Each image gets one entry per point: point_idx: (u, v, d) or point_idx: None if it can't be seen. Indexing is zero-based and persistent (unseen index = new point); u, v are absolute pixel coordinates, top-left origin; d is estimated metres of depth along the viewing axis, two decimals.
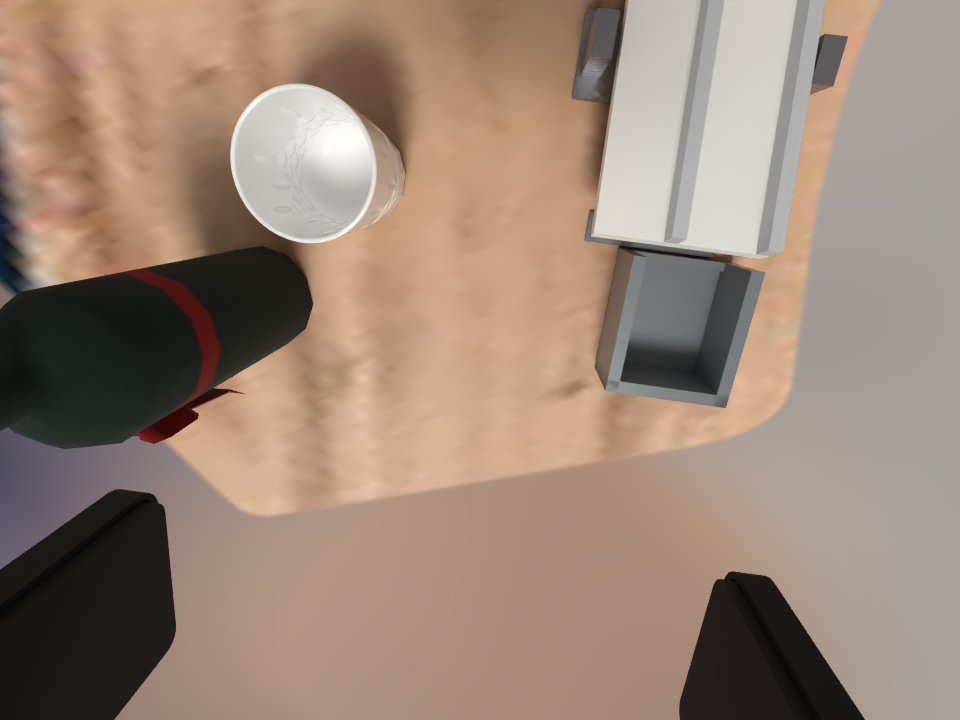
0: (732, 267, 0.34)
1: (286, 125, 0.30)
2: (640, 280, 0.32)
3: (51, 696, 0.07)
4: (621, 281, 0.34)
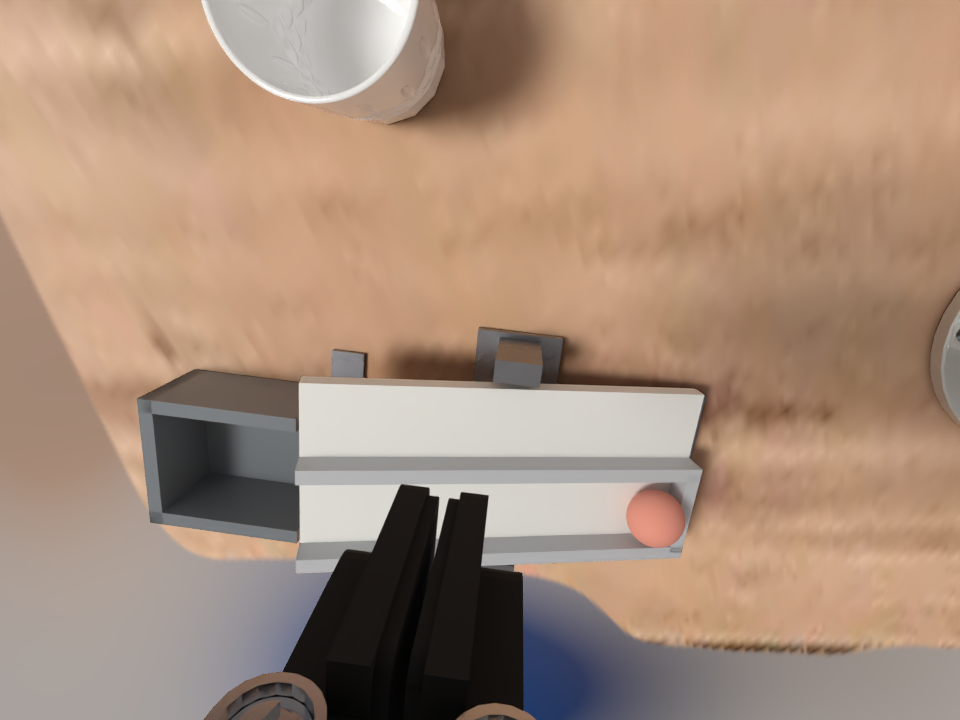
0: None
1: None
2: (270, 427, 0.28)
3: (408, 662, 0.08)
4: (278, 400, 0.30)
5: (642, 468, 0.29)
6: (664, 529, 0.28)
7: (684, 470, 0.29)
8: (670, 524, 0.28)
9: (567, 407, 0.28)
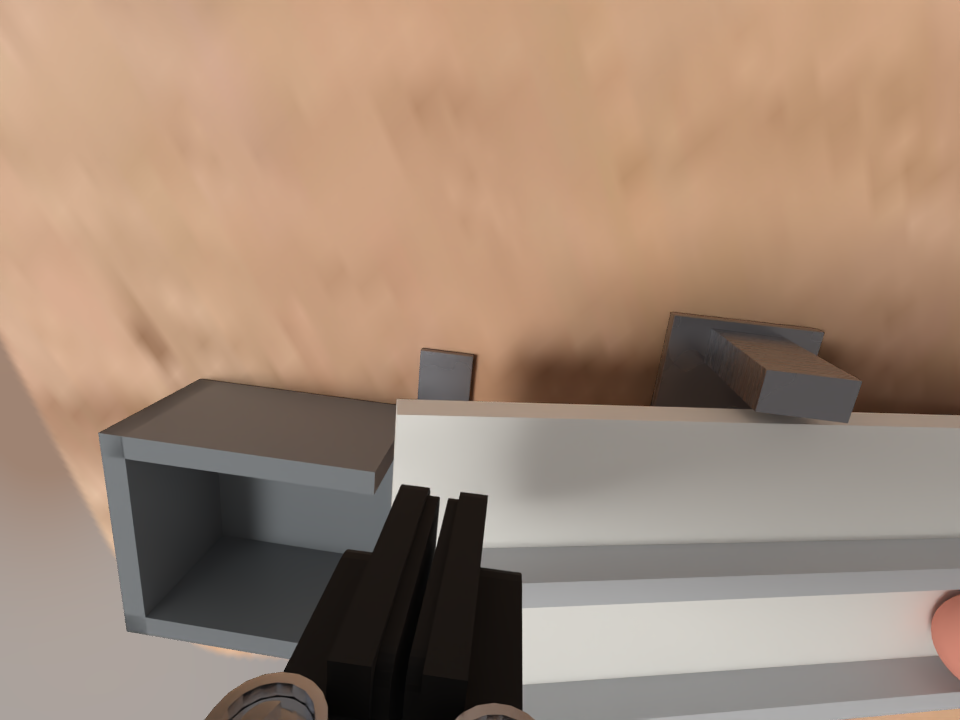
0: None
1: None
2: (328, 485, 0.16)
3: (409, 662, 0.08)
4: (338, 434, 0.18)
5: None
6: None
7: None
8: None
9: (865, 455, 0.15)
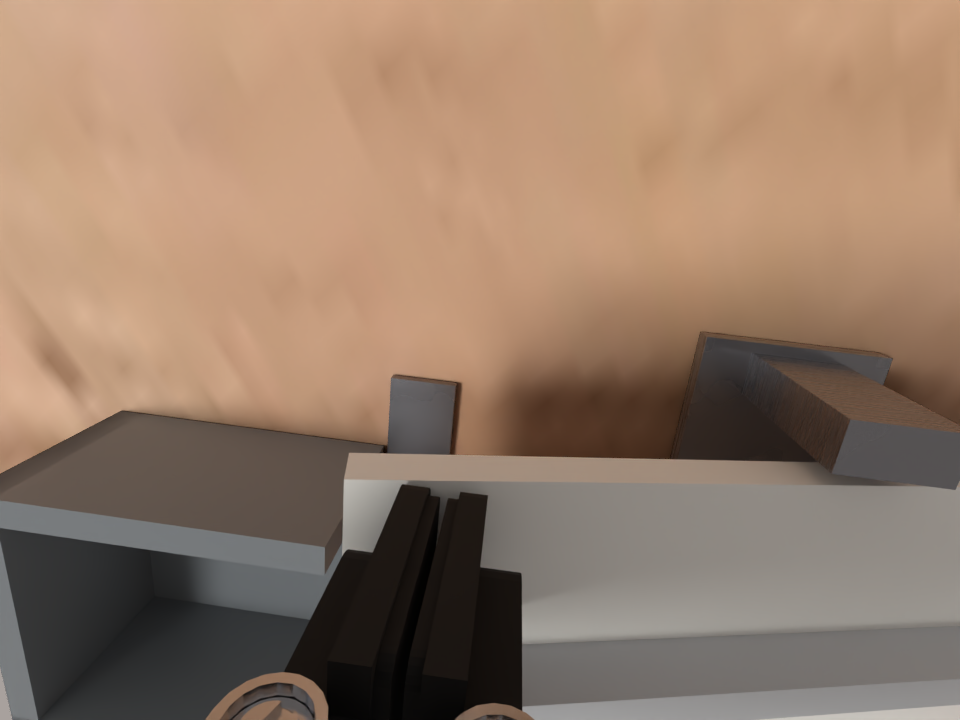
0: None
1: None
2: (264, 563, 0.12)
3: None
4: (283, 488, 0.14)
5: None
6: None
7: None
8: None
9: None
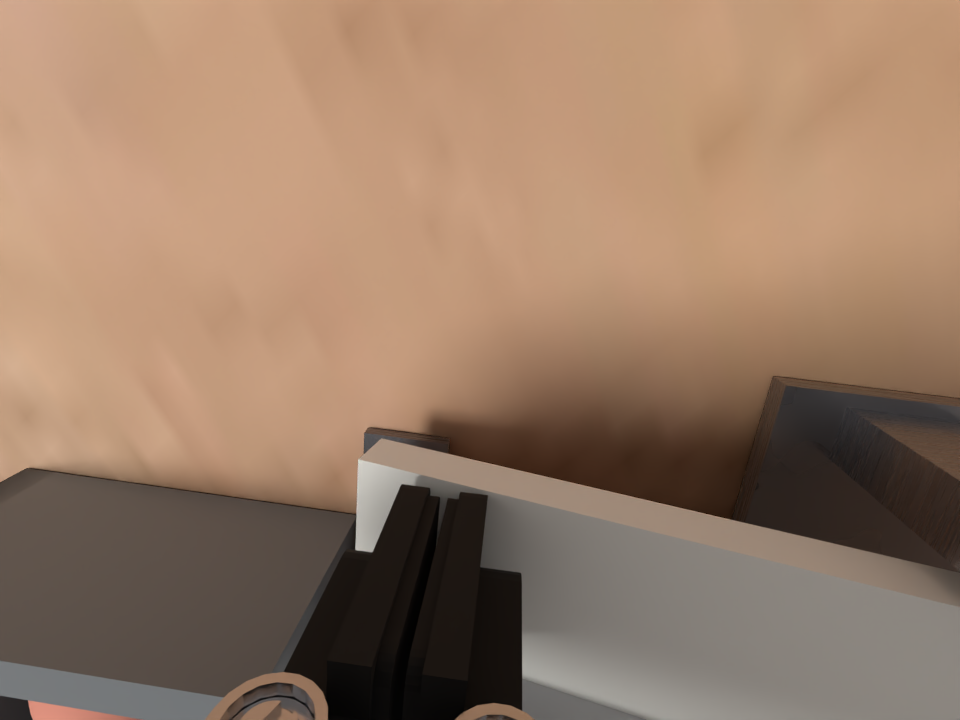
0: None
1: None
2: (172, 719, 0.09)
3: None
4: (213, 592, 0.10)
5: None
6: None
7: None
8: None
9: None
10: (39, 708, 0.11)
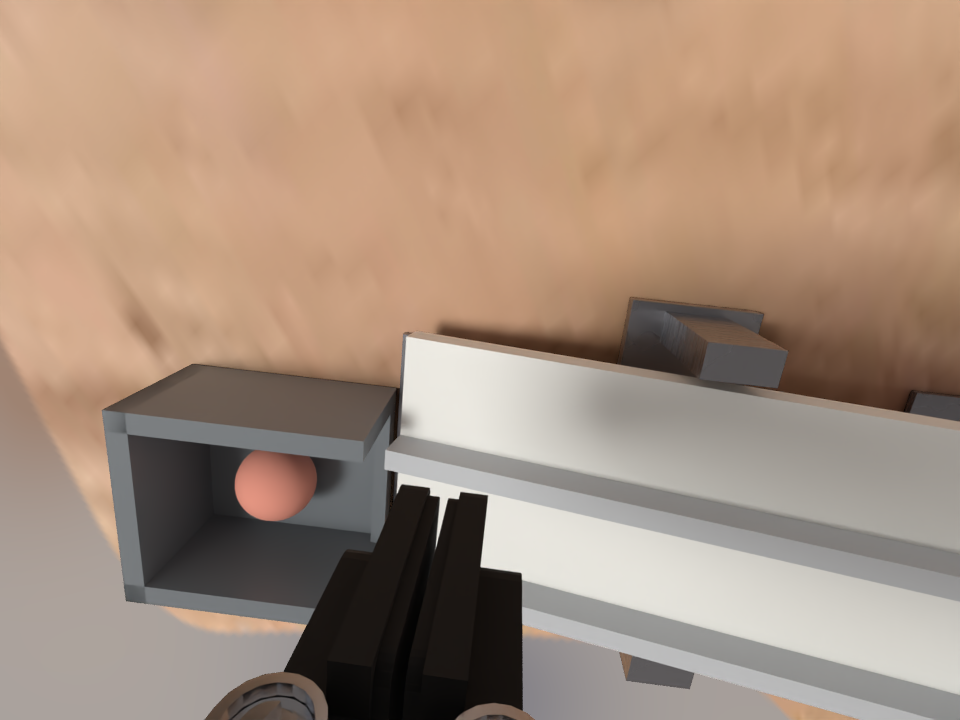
0: None
1: None
2: (320, 455, 0.18)
3: (409, 662, 0.08)
4: (327, 410, 0.19)
5: None
6: (314, 476, 0.22)
7: None
8: (313, 467, 0.22)
9: (812, 435, 0.16)
10: (236, 476, 0.21)
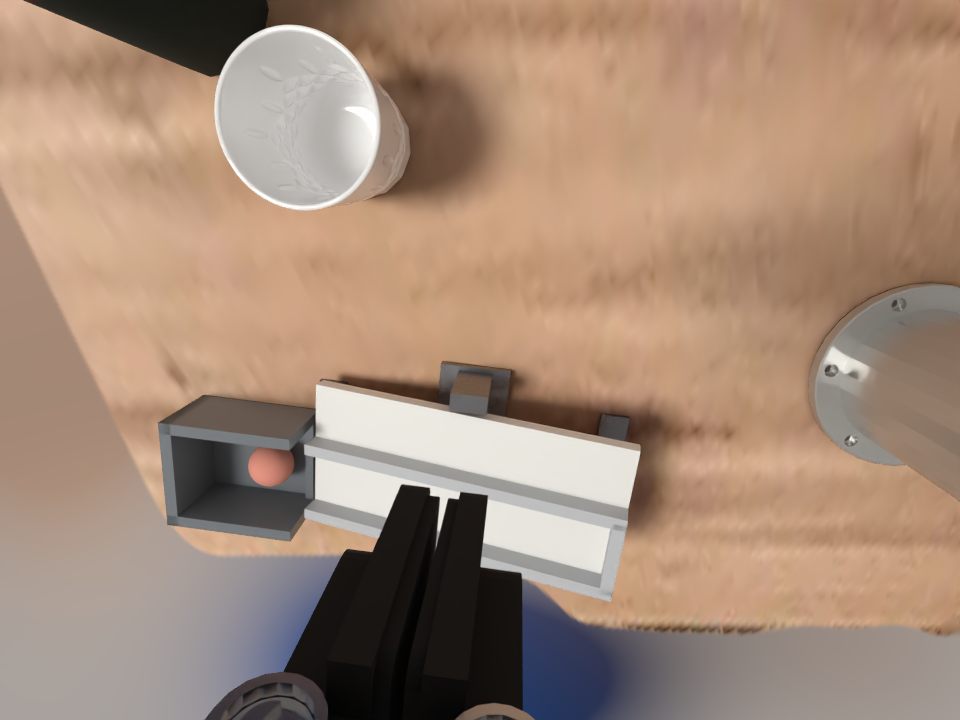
0: (304, 508, 0.39)
1: None
2: (268, 446, 0.35)
3: (409, 662, 0.08)
4: (274, 423, 0.36)
5: (567, 505, 0.32)
6: None
7: (609, 517, 0.31)
8: None
9: (508, 438, 0.33)
10: (259, 469, 0.37)
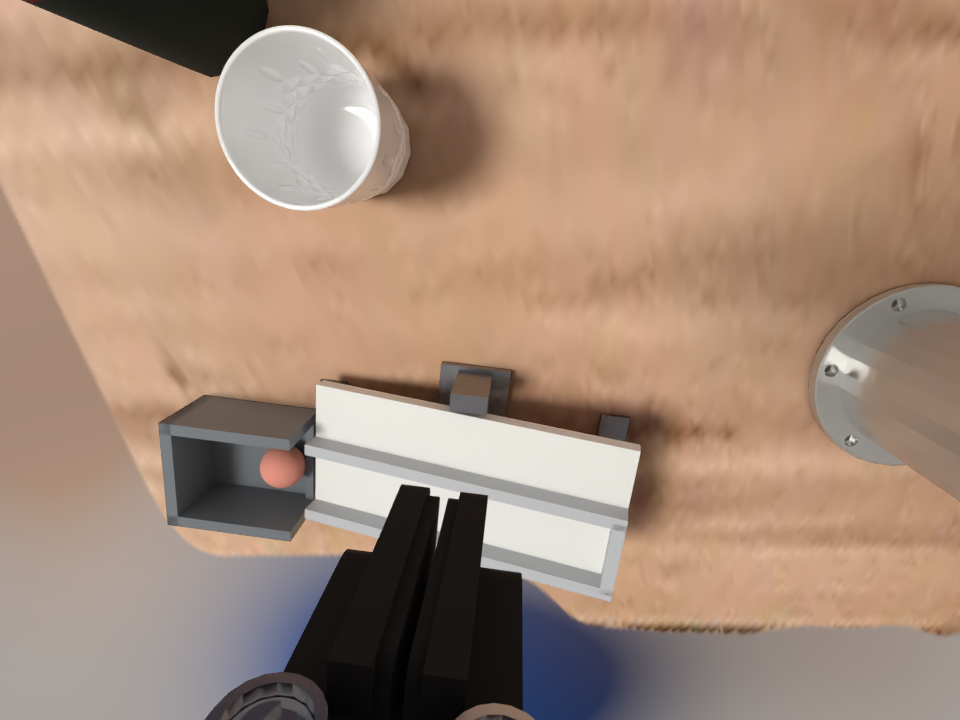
0: (304, 508, 0.39)
1: None
2: (268, 446, 0.35)
3: (409, 663, 0.08)
4: (275, 423, 0.36)
5: (568, 505, 0.32)
6: None
7: (609, 517, 0.31)
8: None
9: (508, 438, 0.33)
10: (283, 471, 0.37)
